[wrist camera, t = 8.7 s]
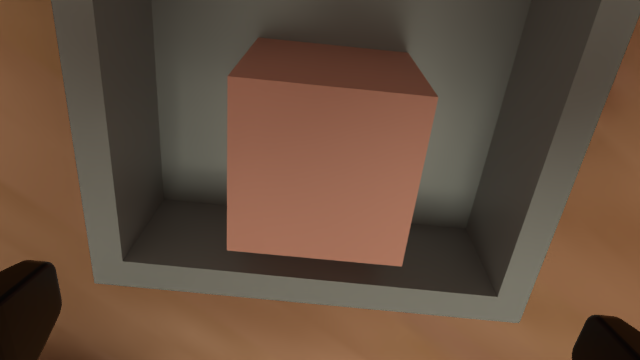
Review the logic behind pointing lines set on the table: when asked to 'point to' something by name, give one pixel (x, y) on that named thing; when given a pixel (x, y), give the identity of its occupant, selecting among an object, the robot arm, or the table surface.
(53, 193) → the table surface
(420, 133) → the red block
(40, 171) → the table surface
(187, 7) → the tote
